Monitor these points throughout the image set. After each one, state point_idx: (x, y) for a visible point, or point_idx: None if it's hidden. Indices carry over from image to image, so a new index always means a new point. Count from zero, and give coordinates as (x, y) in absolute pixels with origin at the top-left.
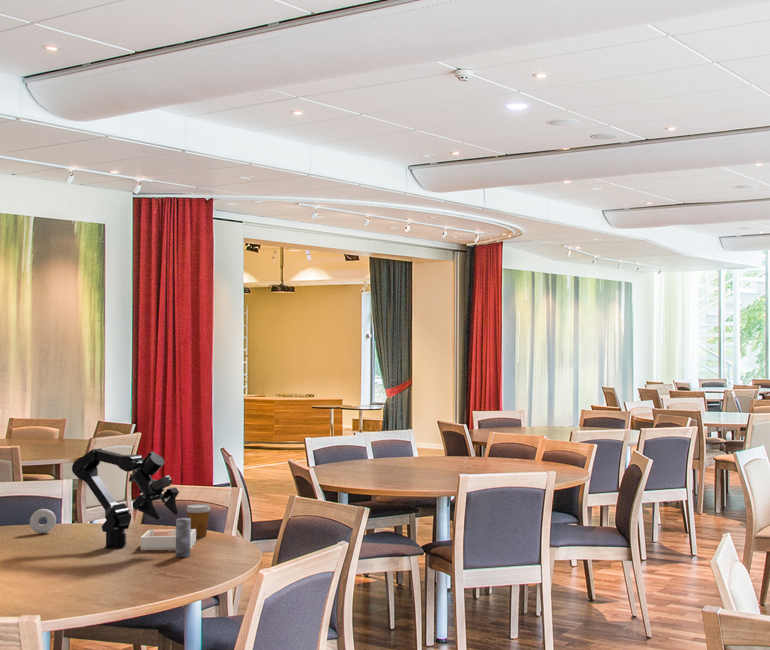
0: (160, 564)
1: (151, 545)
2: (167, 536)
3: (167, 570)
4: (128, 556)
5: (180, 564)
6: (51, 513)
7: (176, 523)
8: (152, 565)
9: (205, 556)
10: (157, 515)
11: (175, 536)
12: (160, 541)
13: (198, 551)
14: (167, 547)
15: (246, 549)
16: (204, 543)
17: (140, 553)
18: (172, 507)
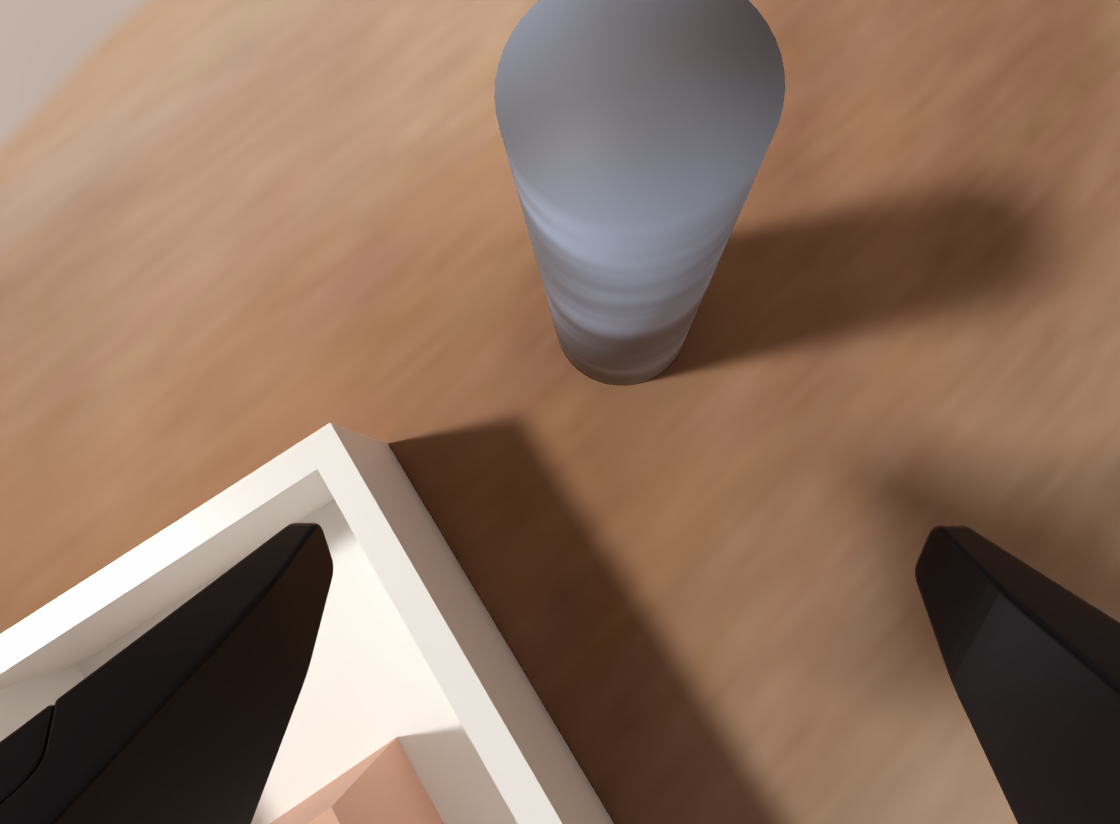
0: (969, 266)
1: (592, 814)
2: (462, 682)
3: (1083, 66)
4: (918, 816)
5: (866, 124)
6: None
7: (752, 183)
8: (1040, 299)
9: None
10: (1029, 570)
11: (414, 584)
12: (530, 733)
13: (399, 337)
14: (496, 642)
15: (170, 49)
16: (87, 531)
17: (743, 804)
18: (204, 754)
